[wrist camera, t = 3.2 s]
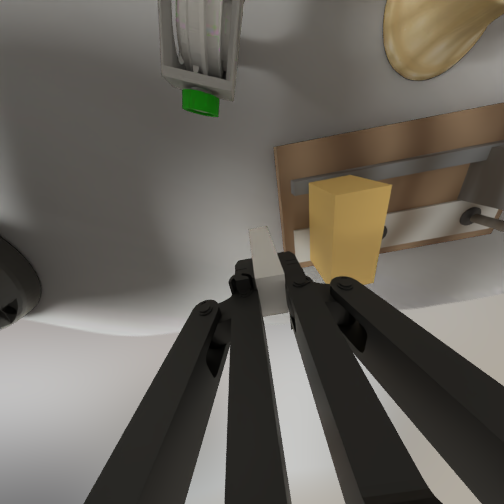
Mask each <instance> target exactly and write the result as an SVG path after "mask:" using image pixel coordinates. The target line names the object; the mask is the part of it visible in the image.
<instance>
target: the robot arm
mask: <svg viewBox="0 0 504 504" xmlns="http://www.w3.org/2000/svg"><path fill="white" fill-rule="evenodd" d="M248 230H249V238H250V245H251V253H252V258H251V259H245V260H240V261H238V262H237V264H236V265H235V275H233V276H232V277H231V278H230V279H229V286H230V289H231V292H232V296H231V297H230V298H229V299H227V300H225V301H223V302H221V303H219V304H218V303H217V302H216V301H214V300H205V301H203V302H200V303H199V304H198V305H196V306H195V308H194V309H193V310H192V312H191V314H190V316H189V318H188V319H187V321H186V323H185V325H184V326H183V328H182V330H181V332H180V334H179V335H178V337H177V339H176V341H175V343H174V344H173V346H172V348H171V350H170V351H169V353H168V355H167V357H166V358H165V360H164V362H163V364H162V366H161V367H160V369H159V371H158V373H157V374H156V376H155V378H154V380H153V381H152V383H151V385H150V387H149V389H148V390H147V392H146V394H145V396H144V397H143V399H142V401H141V403H140V405H139V406H138V408H137V410H136V412H135V414H134V415H133V417H132V419H131V421H130V423H129V424H128V426H127V428H126V429H125V431H124V433H123V435H122V437H121V438H120V440H119V442H118V444H117V445H116V447H115V449H114V451H113V453H112V455H111V456H110V458H109V460H108V461H107V463H106V465H105V467H104V468H103V470H102V472H101V474H100V476H99V477H98V479H97V481H96V483H95V485H94V486H93V488H92V490H91V492H90V493H89V495H88V497H87V499H86V500H85V502H84V504H184V503H185V500H186V497H187V493H188V490H189V486H190V482H191V479H192V476H193V472H194V469H195V465H196V462H197V458H198V455H199V451H200V448H201V444H202V441H203V437H204V434H205V430H206V427H207V424H208V420H209V417H210V413H211V410H212V406H213V403H214V399H215V396H216V392H217V389H218V385H219V382H220V378H221V375H222V371H223V368H224V364H225V361H226V357H227V354H228V350H229V347H230V368H229V396H228V424H227V451H226V452H227V453H226V479H225V504H291V497H290V490H289V484H288V477H287V471H286V465H285V458H284V451H283V445H282V438H281V432H280V425H279V418H278V412H277V405H276V398H275V392H274V386H273V379H272V372H271V365H270V359H269V352H268V346H267V339H266V333H265V326H264V321H263V317H264V316H270V315H276V314H281V313H287V312H288V309H289V313H290V321H291V329H293V330H294V334H295V337H296V340H297V344H298V347H299V350H300V353H301V357H302V360H303V364H304V367H305V370H306V374H307V377H308V380H309V384H310V387H311V390H312V394H313V397H314V400H315V404H316V407H317V410H318V414H319V417H320V420H321V423H322V427H323V430H324V434H325V437H326V440H327V443H328V447H329V450H330V453H331V457H332V460H333V463H334V467H335V470H336V473H337V477H338V480H339V483H340V487H341V490H342V493H343V496H344V500H345V503H346V504H443V503H441V502H440V501H439V500H438V499H437V498H436V497H435V496H434V494H433V493H432V492H431V490H430V489H429V488H428V486H427V484H426V483H425V481H424V479H423V478H422V476H421V474H420V472H419V470H418V469H417V467H416V465H415V463H414V462H413V460H412V458H411V456H410V454H409V453H408V451H407V449H406V447H405V446H404V444H403V442H402V440H401V438H400V436H399V435H398V433H397V431H396V429H395V427H394V426H393V424H392V422H391V420H390V419H389V417H388V415H387V413H386V411H385V410H384V408H383V406H382V404H381V402H380V401H379V399H378V397H377V395H376V393H375V392H374V390H373V388H372V386H371V384H370V383H369V381H368V379H367V377H366V376H365V374H364V372H363V370H362V369H361V366H360V365H359V363H358V361H357V359H356V358H355V356H354V354H355V355H356V357H357V358H358V359H359V360H360V361H361V362H362V364H363V365H364V366H365V367H366V368H367V369H368V371H369V372H370V373H371V374H372V375H373V376H374V378H375V379H376V380H377V381H378V382H379V383H380V385H381V386H382V387H383V388H384V389H385V391H386V392H387V393H388V394H389V395H390V396H391V398H392V399H393V400H394V401H395V402H396V404H397V405H398V406H399V407H400V408H401V409H402V411H403V412H404V413H405V414H406V415H407V416H408V418H410V420H411V421H412V422H413V423H414V425H415V426H416V427H417V428H418V429H419V431H420V432H421V433H422V434H423V435H424V436H425V438H426V439H427V440H428V441H429V442H430V443H431V445H432V446H433V447H434V448H435V449H436V450H437V452H438V453H439V454H440V455H441V456H442V457H443V459H444V460H445V461H446V462H447V463H448V464H449V466H450V467H451V468H452V469H453V470H454V471H455V473H456V474H457V475H458V476H459V477H460V478H461V480H462V481H463V482H464V483H465V484H466V486H467V487H468V488H469V489H470V490H471V492H472V493H473V494H474V495H475V496H476V497H477V499H478V500H479V501H480V502H481V503H482V504H504V386H503V385H501V384H500V383H498V382H497V381H496V380H494V379H493V378H492V377H490V376H489V375H487V374H486V373H484V372H483V371H482V370H480V369H479V368H478V367H476V366H475V365H473V364H472V363H471V362H469V361H468V360H467V359H465V358H464V357H462V356H461V355H459V354H458V353H457V352H455V351H454V350H453V349H451V348H450V347H449V346H447V345H446V344H444V343H443V342H442V341H440V340H439V339H437V338H436V337H435V336H433V335H432V334H431V333H429V332H427V331H426V330H425V329H424V328H422V327H421V326H419V325H418V324H417V323H415V322H414V321H412V320H411V319H410V318H408V317H407V316H406V315H404V314H403V313H401V312H400V311H399V310H397V309H396V308H394V307H393V306H392V305H390V304H389V303H388V302H386V301H385V300H383V299H382V298H381V297H379V296H378V295H376V294H375V293H374V292H372V291H371V290H370V289H368V288H367V287H365V286H364V285H363V284H361V283H360V282H358V281H357V280H355V279H353V278H351V277H347V276H339V277H335V278H333V279H332V280H331V282H330V284H322V283H316V282H313V280H312V279H311V278H310V277H308V276H306V275H305V273H304V271H303V269H302V268H301V266H300V264H299V262H298V260H297V258H296V256H295V254H293V253H292V252H290V251H287V252H281V253H277V252H276V250H275V247H274V244H273V241H272V239H271V236H270V233H269V231H268V228H267V226H264V227H259V228H253V229H248ZM40 296H41V287H40V283H39V280H38V277H37V275H36V273H35V271H34V270H33V268H32V267H31V265H30V264H29V263H28V262H27V260H26V259H25V258H24V257H23V256H22V255H21V254H20V253H19V252H18V251H17V250H16V249H15V248H14V247H12V246H11V245H10V244H9V243H8V242H6V241H5V240H4V239H2V238H1V237H0V330H2V329H4V328H6V327H8V326H10V325H12V324H14V323H15V322H17V321H18V320H19V319H21V318H22V317H23V316H24V315H26V314H27V313H28V312H29V311H31V310H32V309H33V308H34V307H35V306H36V305H37V303H38V302H39V299H40ZM353 353H354V354H353Z"/></svg>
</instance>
